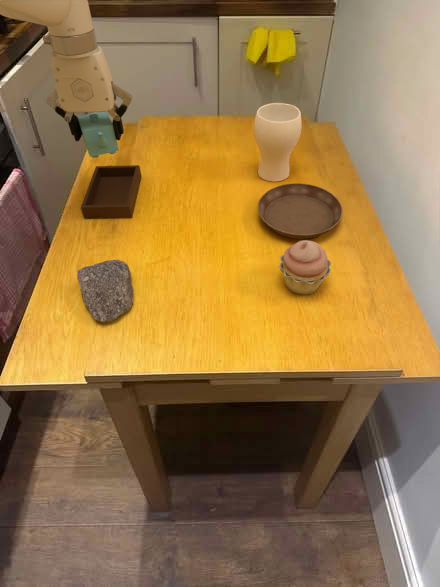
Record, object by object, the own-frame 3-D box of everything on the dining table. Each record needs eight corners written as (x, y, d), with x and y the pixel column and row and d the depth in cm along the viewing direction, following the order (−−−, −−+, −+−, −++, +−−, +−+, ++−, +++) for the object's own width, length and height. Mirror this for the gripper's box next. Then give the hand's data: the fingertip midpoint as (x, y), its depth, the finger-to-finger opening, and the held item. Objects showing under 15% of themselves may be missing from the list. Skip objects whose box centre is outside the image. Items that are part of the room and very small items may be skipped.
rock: (67, 271, 72) (118, 247, 75) (78, 289, 77) (126, 265, 79) (88, 318, 66) (144, 290, 68) (100, 335, 70) (151, 308, 73)
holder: (132, 218, 90) (129, 206, 87) (84, 219, 90) (80, 207, 88) (141, 176, 101) (139, 165, 98) (99, 177, 101) (95, 166, 99)
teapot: (123, 162, 84) (115, 127, 78) (93, 169, 82) (83, 133, 77) (111, 136, 91) (103, 102, 86) (84, 142, 90) (74, 107, 84)
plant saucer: (299, 257, 80) (301, 246, 78) (240, 215, 89) (240, 204, 87) (357, 221, 87) (360, 209, 85) (297, 185, 96) (298, 174, 94)
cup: (292, 160, 104) (299, 100, 93) (298, 184, 97) (307, 122, 85) (250, 162, 104) (252, 102, 93) (254, 186, 97) (256, 124, 85)
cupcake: (285, 259, 80) (291, 218, 72) (332, 273, 77) (343, 232, 69) (268, 292, 74) (272, 251, 67) (318, 308, 71) (328, 267, 64)
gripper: (18, 51, 69) (52, 147, 82) (120, 48, 69) (138, 145, 82) (31, 36, 74) (62, 130, 87) (127, 34, 74) (143, 128, 87)
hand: (99, 137), depth 84 cm, fingers closed on teapot, 7 cm apart
